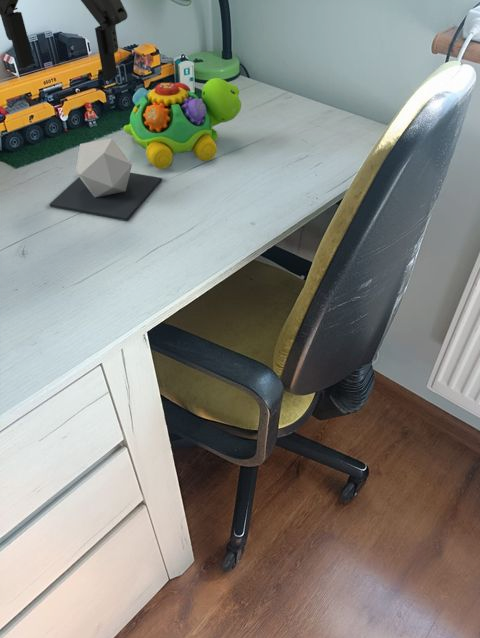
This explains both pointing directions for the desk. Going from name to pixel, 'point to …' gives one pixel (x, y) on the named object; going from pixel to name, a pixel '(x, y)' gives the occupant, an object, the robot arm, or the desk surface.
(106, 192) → the die
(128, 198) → the mat
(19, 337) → the desk surface
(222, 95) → the turtle toy
